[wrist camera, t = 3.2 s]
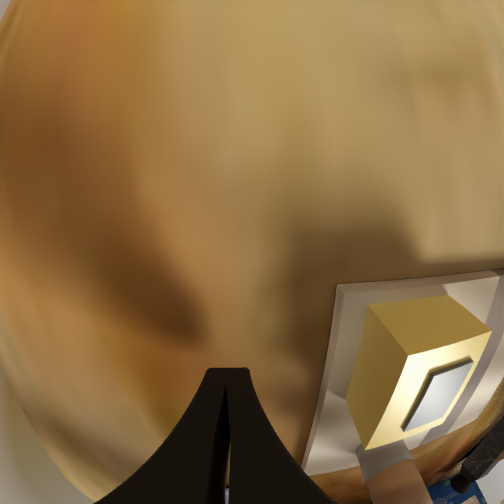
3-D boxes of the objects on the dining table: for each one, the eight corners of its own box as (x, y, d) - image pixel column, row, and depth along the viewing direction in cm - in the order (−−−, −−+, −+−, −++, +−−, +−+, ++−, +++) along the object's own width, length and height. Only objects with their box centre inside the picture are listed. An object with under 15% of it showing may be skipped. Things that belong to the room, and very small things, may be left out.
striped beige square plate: (472, 413, 14) (476, 418, 14) (300, 467, 14) (302, 476, 13) (538, 263, 10) (546, 267, 9) (336, 284, 10) (344, 294, 9)
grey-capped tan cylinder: (390, 448, 13) (418, 514, 7) (350, 459, 13) (372, 532, 7) (406, 424, 12) (442, 497, 6) (362, 436, 12) (393, 520, 6)
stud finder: (416, 382, 11) (444, 426, 8) (344, 399, 11) (365, 454, 7) (447, 294, 9) (495, 333, 6) (368, 304, 9) (411, 360, 6)
